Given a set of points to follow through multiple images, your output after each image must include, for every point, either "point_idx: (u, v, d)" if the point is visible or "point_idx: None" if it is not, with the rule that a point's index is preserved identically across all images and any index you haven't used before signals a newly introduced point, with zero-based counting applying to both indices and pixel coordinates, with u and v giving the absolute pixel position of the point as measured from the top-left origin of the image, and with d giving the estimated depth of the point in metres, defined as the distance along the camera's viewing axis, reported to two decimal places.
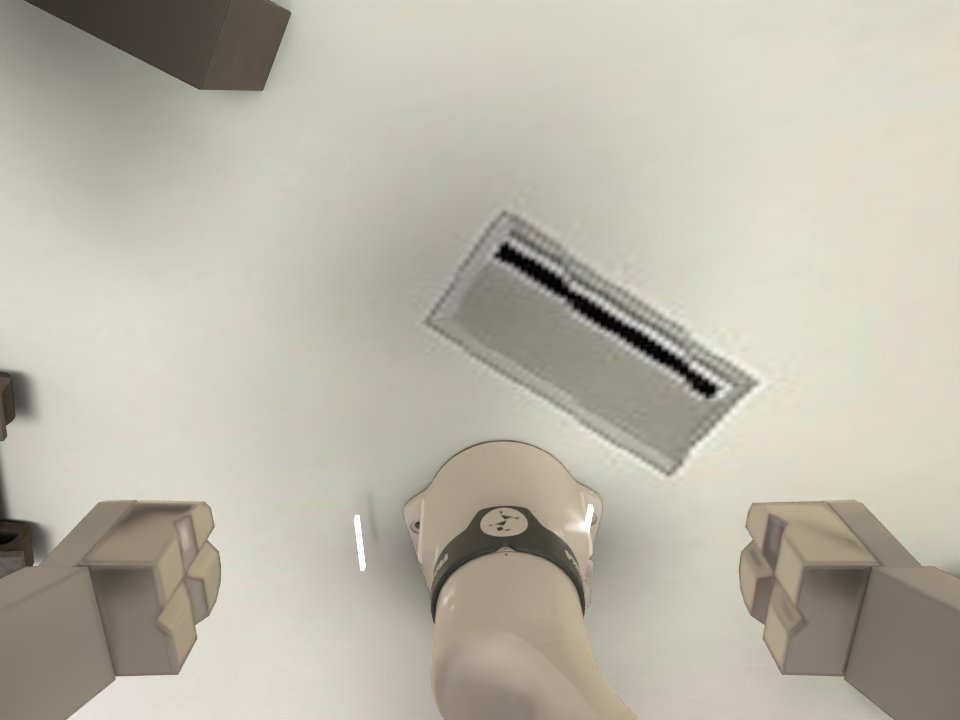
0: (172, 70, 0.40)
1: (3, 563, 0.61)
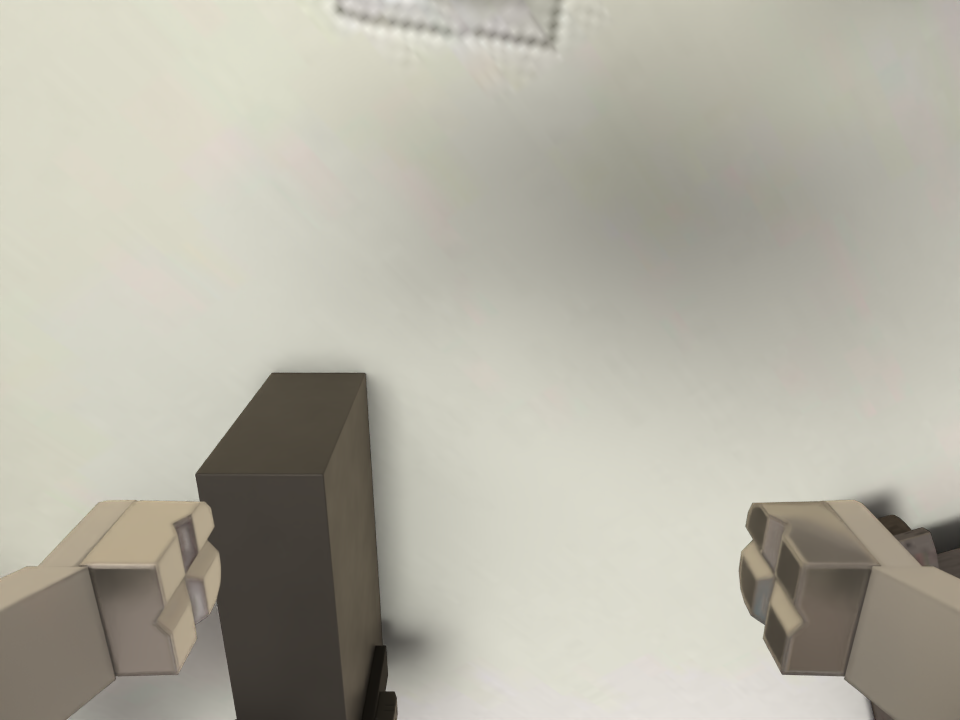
0: (320, 506, 0.32)
1: None
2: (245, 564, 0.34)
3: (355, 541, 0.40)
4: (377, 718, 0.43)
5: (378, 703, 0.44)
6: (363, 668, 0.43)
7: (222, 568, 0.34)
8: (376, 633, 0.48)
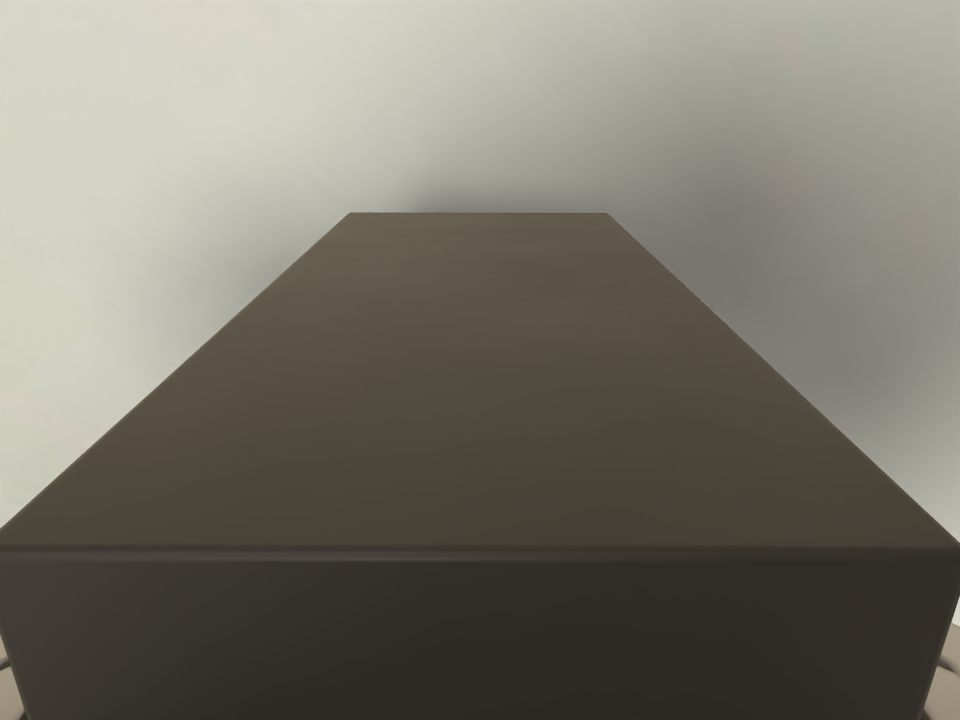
0: None
1: None
2: None
3: None
4: None
5: None
6: None
7: None
8: None
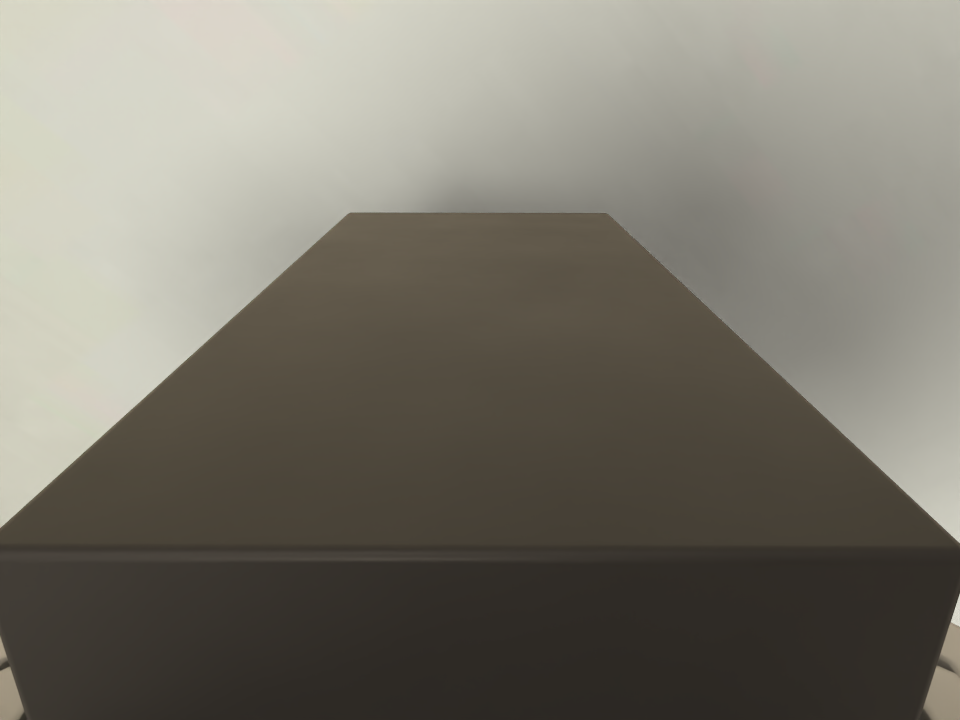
0: None
1: None
2: None
3: None
4: None
5: None
6: None
7: None
8: None
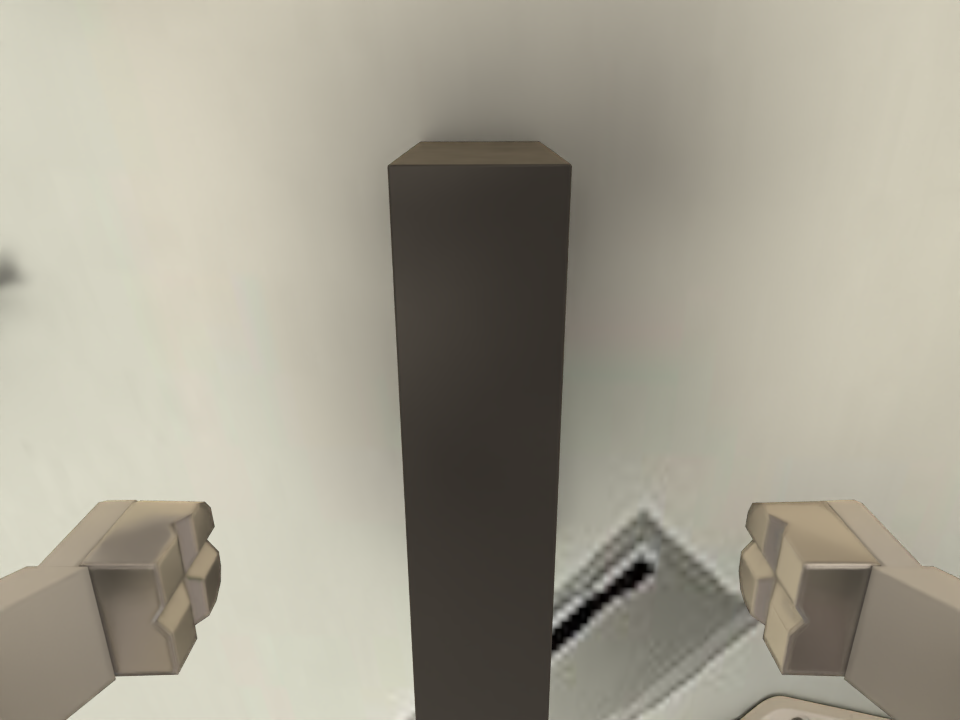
0: (561, 219, 0.23)
1: None
2: (445, 314, 0.24)
3: None
4: None
5: None
6: None
7: (411, 321, 0.24)
8: None
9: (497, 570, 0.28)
